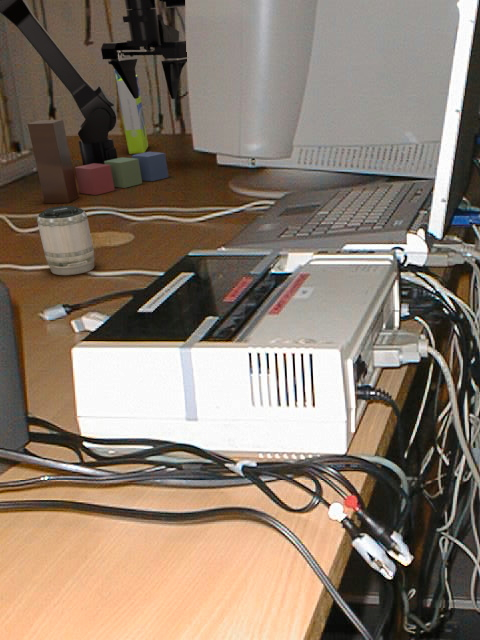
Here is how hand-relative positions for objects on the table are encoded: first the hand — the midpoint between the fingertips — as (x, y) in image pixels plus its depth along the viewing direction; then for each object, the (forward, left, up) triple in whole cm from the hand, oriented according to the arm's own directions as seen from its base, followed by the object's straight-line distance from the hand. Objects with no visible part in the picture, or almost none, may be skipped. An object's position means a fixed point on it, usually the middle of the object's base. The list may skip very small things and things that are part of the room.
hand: (154, 98), depth 180 cm
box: (-20, +17, -13) cm, 29 cm away
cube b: (+4, -18, -13) cm, 22 cm away
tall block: (+1, -32, -13) cm, 35 cm away
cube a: (+5, -11, -13) cm, 18 cm away
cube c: (+3, -24, -13) cm, 28 cm away
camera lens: (+35, -68, -13) cm, 78 cm away
